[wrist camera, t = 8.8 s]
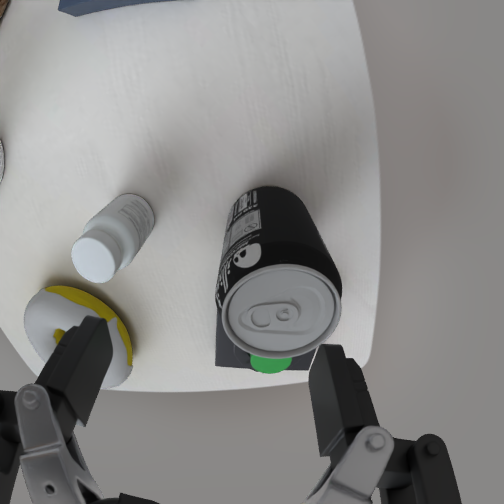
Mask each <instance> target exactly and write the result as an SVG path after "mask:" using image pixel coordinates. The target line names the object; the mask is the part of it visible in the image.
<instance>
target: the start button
mask: <svg viewBox="0 0 504 504" xmlns="http://www.w3.org/2000/svg"><path fill="white" fill-rule="evenodd" d="M291 361H292V357H290V358H282V359H272V358H264V357H259V356H255V355H252V354H250V362H251V365H252V367H253V368H254V369H255V370H257V371H259V372H262V373H268V374H271V373H278V372H281V371H283V370H285V369H286V368H287V367H288V366H289V365H290V364H291Z"/></svg>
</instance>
